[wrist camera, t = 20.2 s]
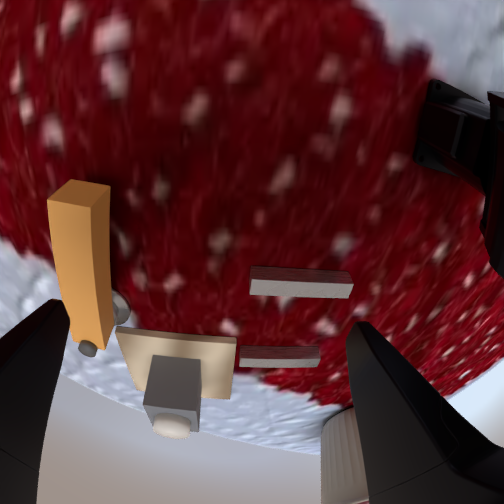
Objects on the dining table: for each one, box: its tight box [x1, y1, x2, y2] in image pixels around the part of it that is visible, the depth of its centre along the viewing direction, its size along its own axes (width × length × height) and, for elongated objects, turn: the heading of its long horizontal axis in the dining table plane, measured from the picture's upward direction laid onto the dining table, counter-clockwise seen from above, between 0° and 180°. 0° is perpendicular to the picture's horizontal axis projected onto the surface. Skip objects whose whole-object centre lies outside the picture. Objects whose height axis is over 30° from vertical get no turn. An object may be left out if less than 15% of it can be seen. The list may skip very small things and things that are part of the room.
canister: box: [321, 407, 369, 504], centre depth 33 cm, size 18×18×21 cm
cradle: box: [111, 266, 354, 367], centre depth 25 cm, size 24×12×2 cm, turn 84°
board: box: [115, 326, 236, 399], centre depth 30 cm, size 12×12×1 cm
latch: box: [47, 179, 114, 357], centre depth 18 cm, size 14×3×4 cm, turn 165°
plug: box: [143, 355, 202, 439], centre depth 27 cm, size 5×6×8 cm
